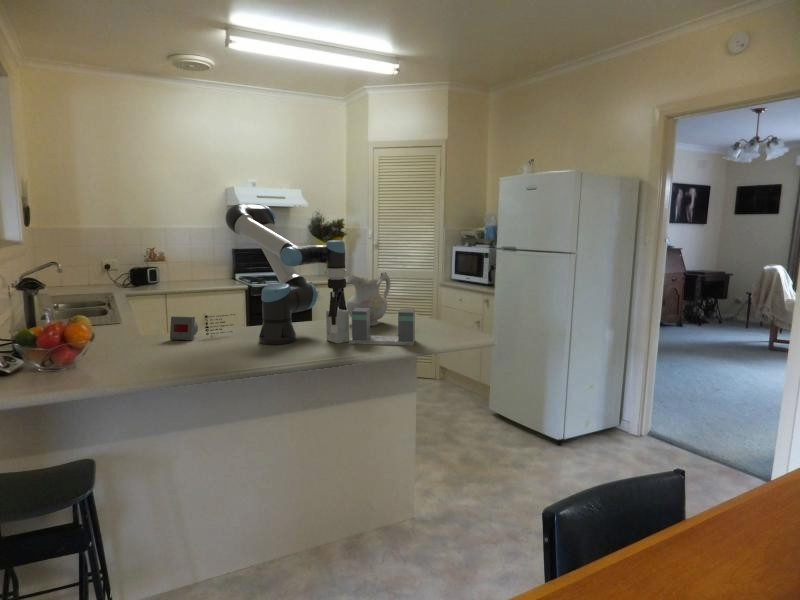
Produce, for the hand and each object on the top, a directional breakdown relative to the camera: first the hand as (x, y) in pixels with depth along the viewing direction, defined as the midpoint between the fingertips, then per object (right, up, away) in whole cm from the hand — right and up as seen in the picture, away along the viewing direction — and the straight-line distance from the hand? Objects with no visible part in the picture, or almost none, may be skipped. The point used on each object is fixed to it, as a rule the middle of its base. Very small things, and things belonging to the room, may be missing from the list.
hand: (338, 328), depth 214 cm
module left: (+10, -4, -1) cm, 10 cm away
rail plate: (+19, -5, -1) cm, 19 cm away
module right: (+28, -4, -3) cm, 29 cm away
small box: (0, -5, +1) cm, 5 cm away
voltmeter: (-59, -4, +6) cm, 59 cm away
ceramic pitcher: (+11, 0, +36) cm, 37 cm away
